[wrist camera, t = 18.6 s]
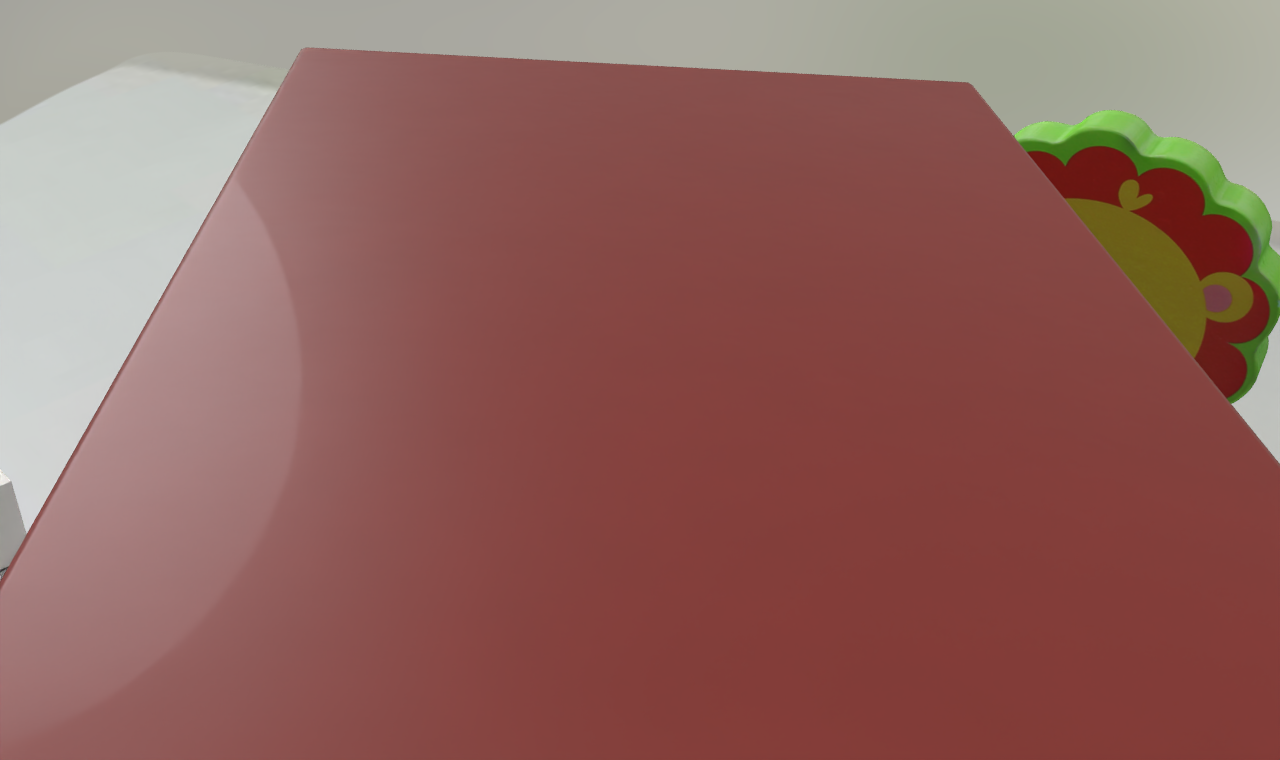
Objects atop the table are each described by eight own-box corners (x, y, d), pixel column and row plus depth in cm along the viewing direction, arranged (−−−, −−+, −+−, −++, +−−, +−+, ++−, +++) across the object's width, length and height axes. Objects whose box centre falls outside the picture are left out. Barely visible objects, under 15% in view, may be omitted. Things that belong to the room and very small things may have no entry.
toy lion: (750, 439, 47) (808, 68, 38) (809, 379, 51) (874, 31, 42) (1154, 612, 40) (1332, 210, 32) (1187, 529, 44) (1353, 151, 36)
